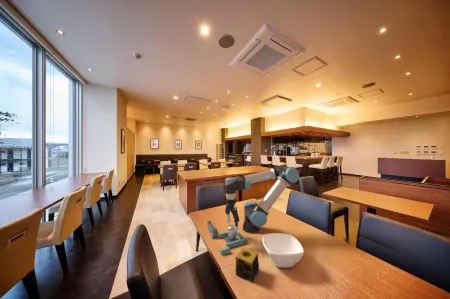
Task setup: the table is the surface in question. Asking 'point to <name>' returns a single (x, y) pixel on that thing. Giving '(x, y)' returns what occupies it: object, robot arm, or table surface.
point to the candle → (247, 264)
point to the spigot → (231, 233)
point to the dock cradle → (230, 244)
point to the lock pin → (211, 228)
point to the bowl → (283, 249)
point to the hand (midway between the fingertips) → (232, 226)
